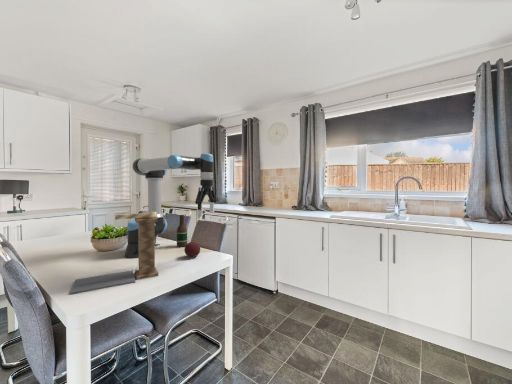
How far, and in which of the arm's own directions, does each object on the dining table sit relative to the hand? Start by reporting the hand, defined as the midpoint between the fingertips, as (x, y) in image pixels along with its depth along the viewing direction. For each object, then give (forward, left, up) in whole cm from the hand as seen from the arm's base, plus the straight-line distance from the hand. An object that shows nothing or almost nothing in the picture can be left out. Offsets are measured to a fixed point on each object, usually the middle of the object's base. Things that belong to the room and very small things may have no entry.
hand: (206, 213), depth 145 cm
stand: (-13, -32, -30) cm, 45 cm away
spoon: (-16, -36, 0) cm, 39 cm away
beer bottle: (-38, +17, -30) cm, 52 cm away
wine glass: (-58, +9, -30) cm, 66 cm away
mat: (-23, -48, -30) cm, 61 cm away
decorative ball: (-13, +2, -30) cm, 33 cm away
